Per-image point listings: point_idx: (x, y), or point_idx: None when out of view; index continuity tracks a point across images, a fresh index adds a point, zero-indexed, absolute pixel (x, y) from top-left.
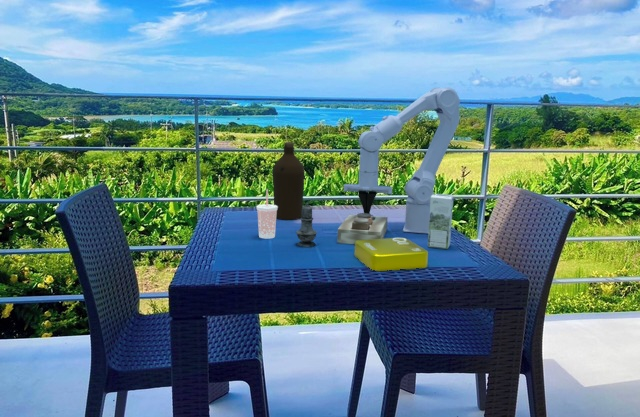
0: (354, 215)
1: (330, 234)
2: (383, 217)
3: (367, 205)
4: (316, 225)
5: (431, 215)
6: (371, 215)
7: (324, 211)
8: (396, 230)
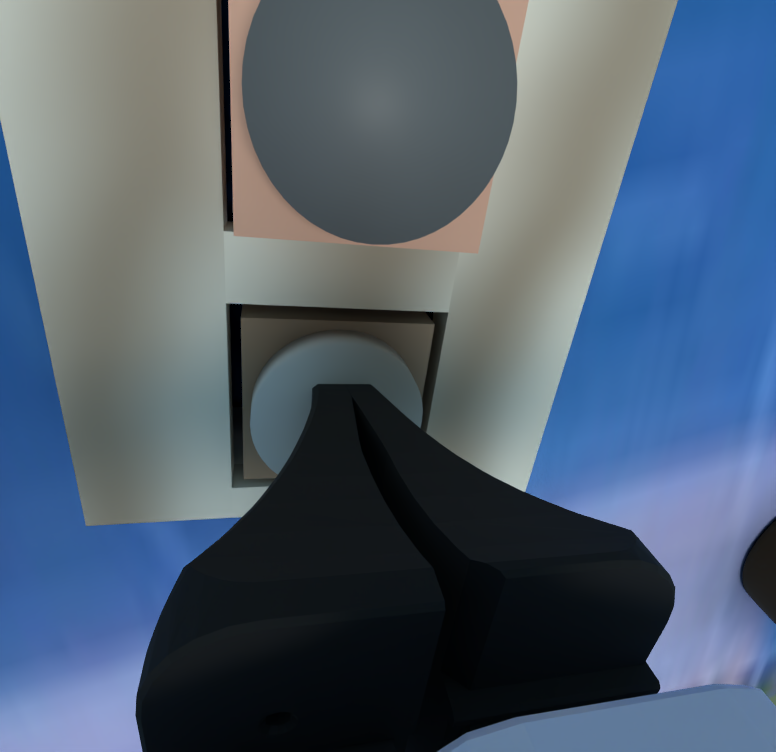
0: None
1: (666, 113)
2: (132, 493)
3: (357, 452)
4: (708, 403)
5: None
6: (279, 441)
7: None
8: (20, 435)
